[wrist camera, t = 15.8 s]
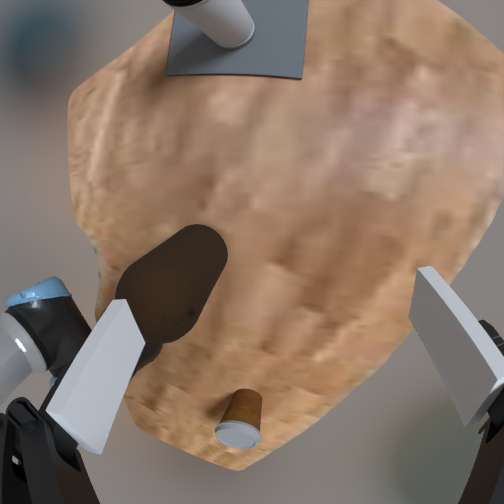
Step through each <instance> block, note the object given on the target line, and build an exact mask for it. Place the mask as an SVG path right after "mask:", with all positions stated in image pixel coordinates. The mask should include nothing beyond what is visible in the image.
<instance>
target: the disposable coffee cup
mask: <svg viewBox="0 0 504 504" xmlns="http://www.w3.org/2000/svg"><path fill="white" fill-rule="evenodd" d="M261 406H262V397H261V396H260V394H259V393H257V392H255V391H253V390H250V389H240V390H238V391H236V392H235V394H234V396H233V398H232V400H231V402H230V404H229V406H228V408H227V410H226V412H225V414H224V415H223V417H222V419H221V421H220V423H219V424H218V425H217V426H216V427H215V433H216V434H215V436H216V438H217V440H218V441H220V442H221V443H222V444H224V445H226V446H229V447H232V448H235V449H244V450H245V449H252V448H254V447H256V446H257V444H258V443H259V442H260V440H261V435H260V421H261V420H260V419H261Z"/></svg>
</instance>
